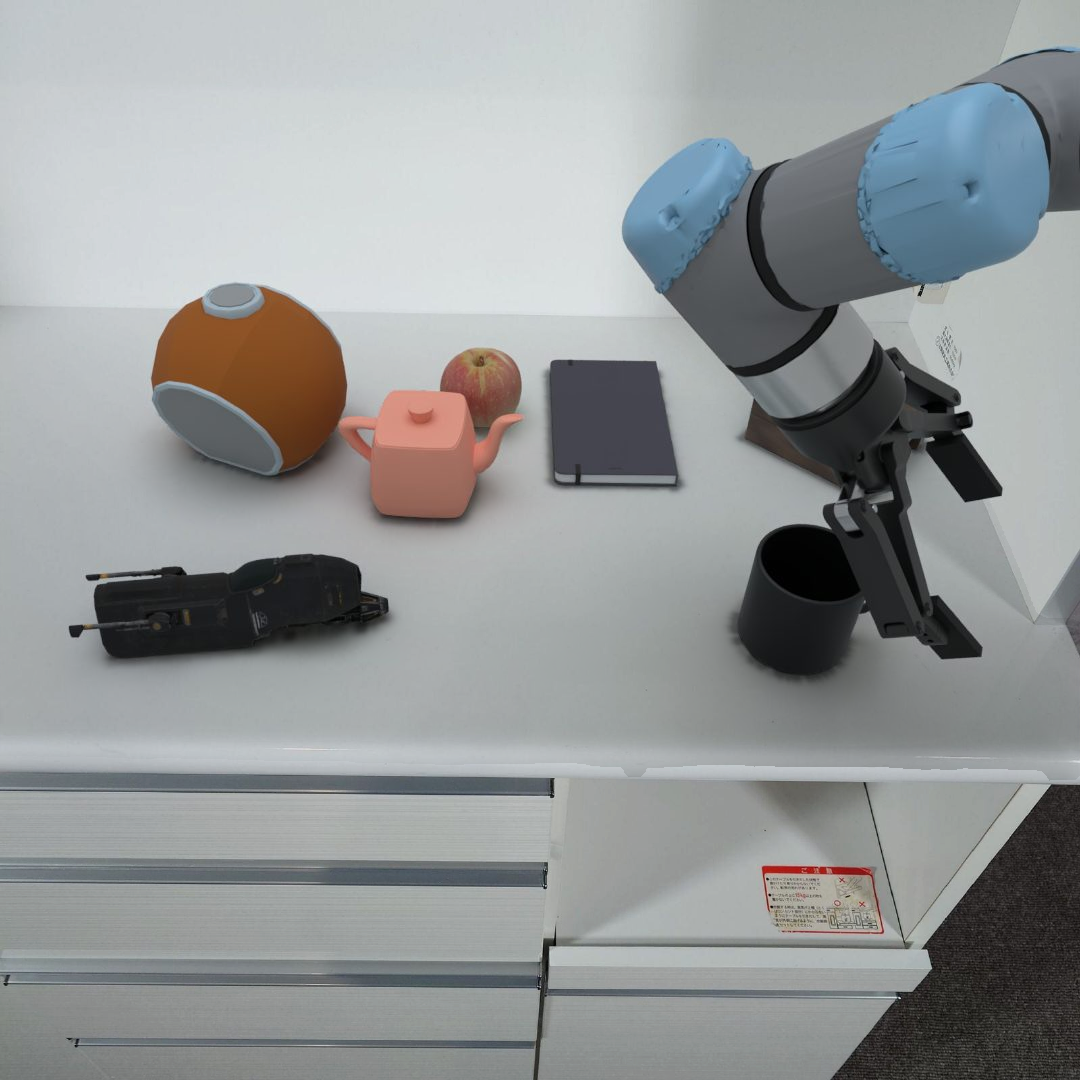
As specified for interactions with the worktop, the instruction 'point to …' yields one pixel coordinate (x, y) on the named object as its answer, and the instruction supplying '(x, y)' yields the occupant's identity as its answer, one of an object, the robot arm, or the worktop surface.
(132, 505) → the worktop surface
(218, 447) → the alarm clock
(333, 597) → the black toy vehicle
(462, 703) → the worktop surface
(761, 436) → the wooden stand
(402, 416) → the teapot
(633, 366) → the notebook
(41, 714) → the worktop surface
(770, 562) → the mug
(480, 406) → the apple
